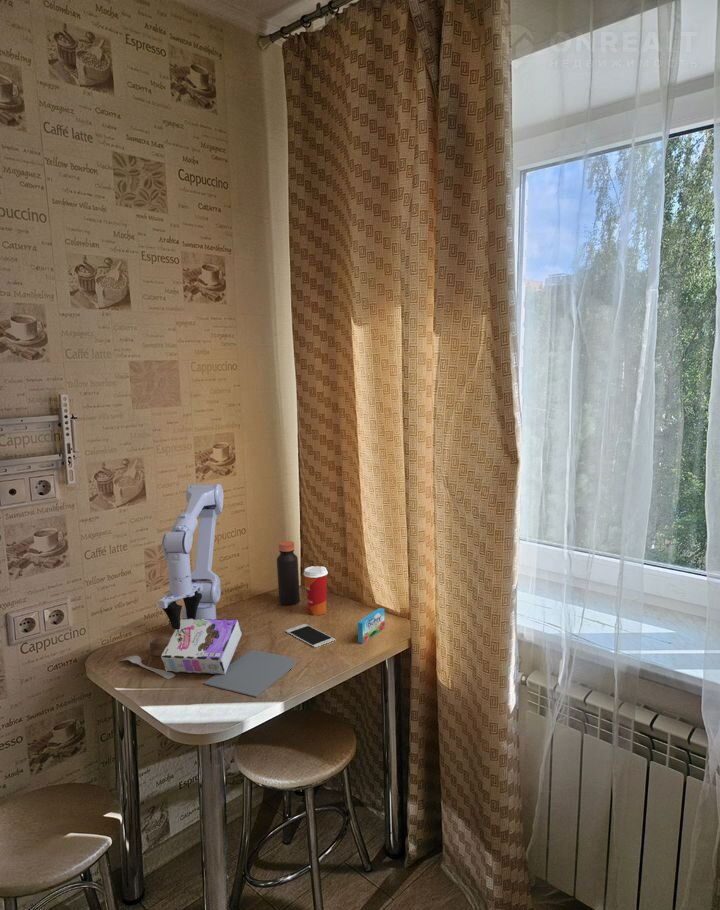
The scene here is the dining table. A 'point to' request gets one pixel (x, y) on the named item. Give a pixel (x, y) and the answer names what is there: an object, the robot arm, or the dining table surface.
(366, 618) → the blue fruit print box
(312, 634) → the smartphone
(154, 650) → the brown rectangular bar
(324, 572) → the paper cup
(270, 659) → the slate mat
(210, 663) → the candy box
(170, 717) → the dining table surface
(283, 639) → the dining table surface
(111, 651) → the dining table surface
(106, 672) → the dining table surface
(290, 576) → the bottle
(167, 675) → the fork
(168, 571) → the robot arm
